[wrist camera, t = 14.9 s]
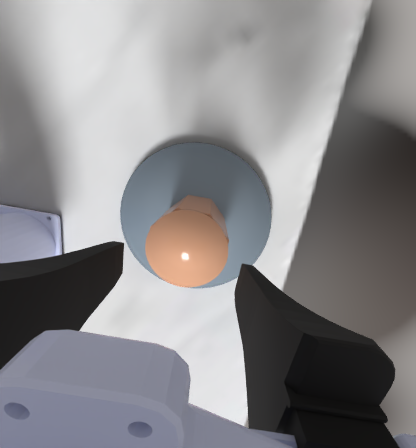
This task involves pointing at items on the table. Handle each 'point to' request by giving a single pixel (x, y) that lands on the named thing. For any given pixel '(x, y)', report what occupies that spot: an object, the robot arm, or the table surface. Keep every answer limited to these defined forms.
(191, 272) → the tan piece
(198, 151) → the lid
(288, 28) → the table surface
